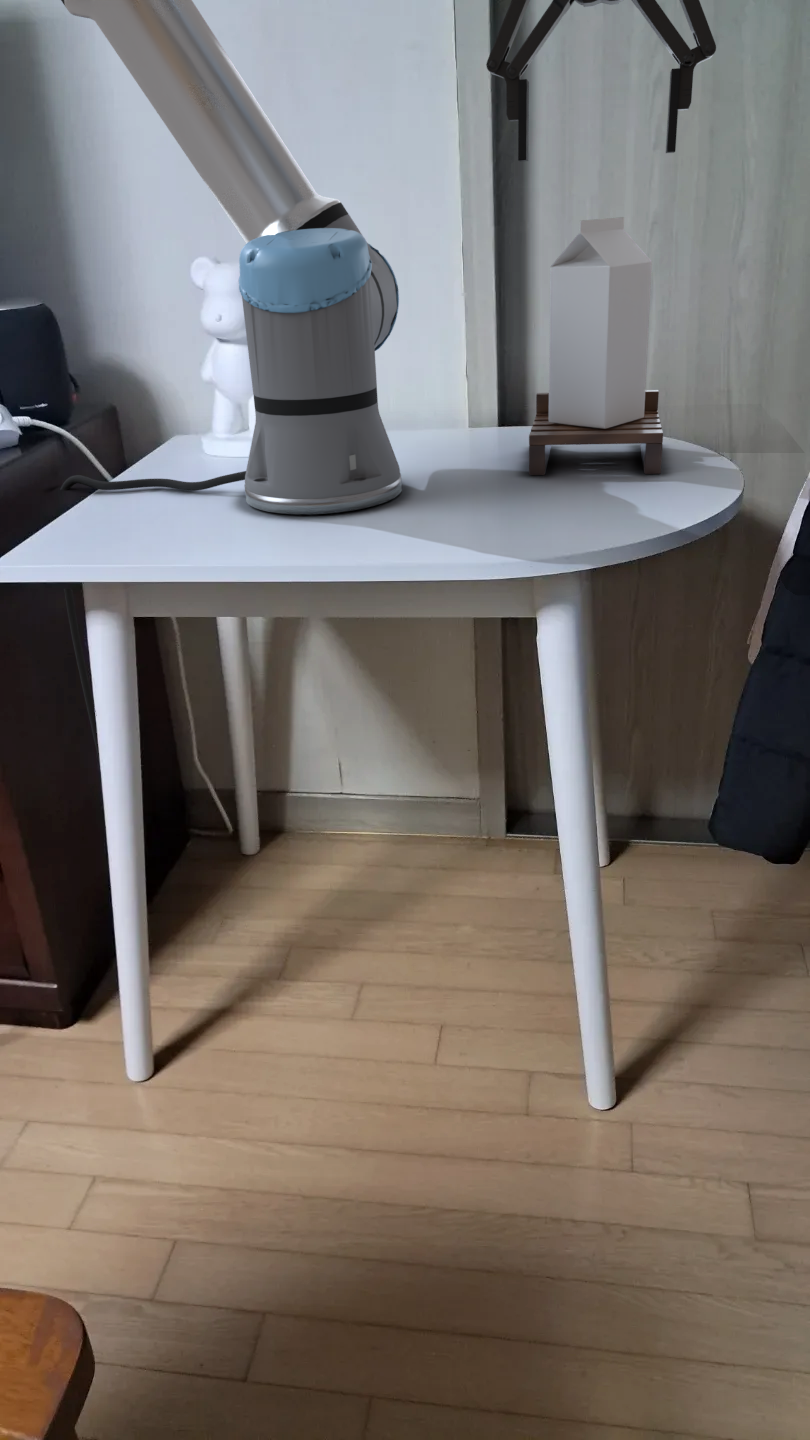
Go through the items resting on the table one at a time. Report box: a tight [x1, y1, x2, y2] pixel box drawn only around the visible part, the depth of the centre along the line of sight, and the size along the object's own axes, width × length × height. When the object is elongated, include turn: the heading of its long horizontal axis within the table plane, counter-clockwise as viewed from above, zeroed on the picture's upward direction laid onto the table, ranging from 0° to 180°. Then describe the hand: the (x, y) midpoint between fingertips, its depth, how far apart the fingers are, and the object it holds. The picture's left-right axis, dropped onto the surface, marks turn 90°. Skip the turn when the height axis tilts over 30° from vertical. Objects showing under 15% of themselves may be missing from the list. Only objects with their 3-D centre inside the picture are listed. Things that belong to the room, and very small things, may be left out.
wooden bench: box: [528, 389, 664, 476], centre depth 108 cm, size 13×13×6 cm
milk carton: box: [548, 216, 653, 429], centre depth 103 cm, size 7×7×19 cm
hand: (595, 157), depth 97 cm, fingers open, 13 cm apart
